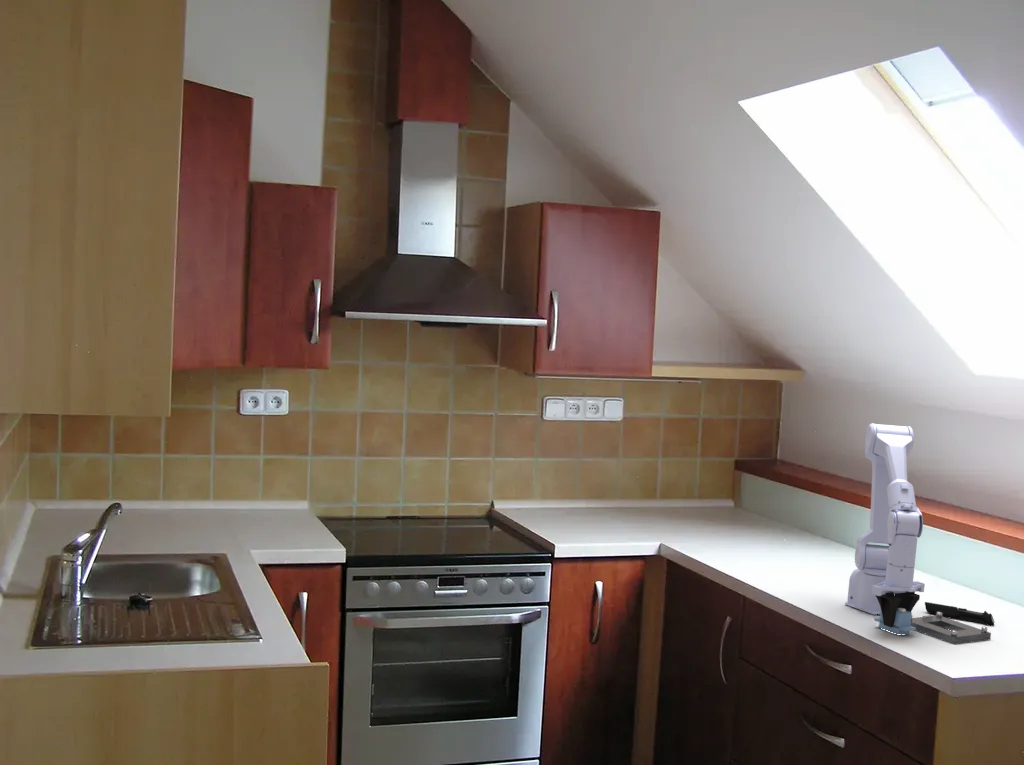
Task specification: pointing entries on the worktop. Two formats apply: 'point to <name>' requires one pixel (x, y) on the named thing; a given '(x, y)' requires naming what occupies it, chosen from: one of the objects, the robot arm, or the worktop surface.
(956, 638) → the plate
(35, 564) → the worktop surface
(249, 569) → the worktop surface
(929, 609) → the electric trimmer
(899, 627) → the servo
